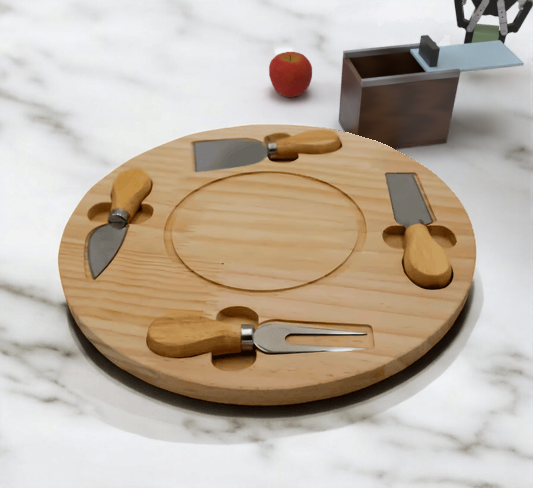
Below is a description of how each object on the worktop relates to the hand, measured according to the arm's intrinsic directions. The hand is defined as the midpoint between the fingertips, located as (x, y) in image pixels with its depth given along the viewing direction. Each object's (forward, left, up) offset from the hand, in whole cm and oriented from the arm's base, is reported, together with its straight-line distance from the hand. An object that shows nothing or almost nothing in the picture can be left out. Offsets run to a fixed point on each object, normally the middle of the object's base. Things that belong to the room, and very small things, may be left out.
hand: (482, 50), depth 122 cm
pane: (+11, +15, +7) cm, 20 cm away
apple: (+36, -1, -5) cm, 37 cm away
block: (0, 0, 0) cm, 0 cm away
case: (+22, +15, -5) cm, 28 cm away
